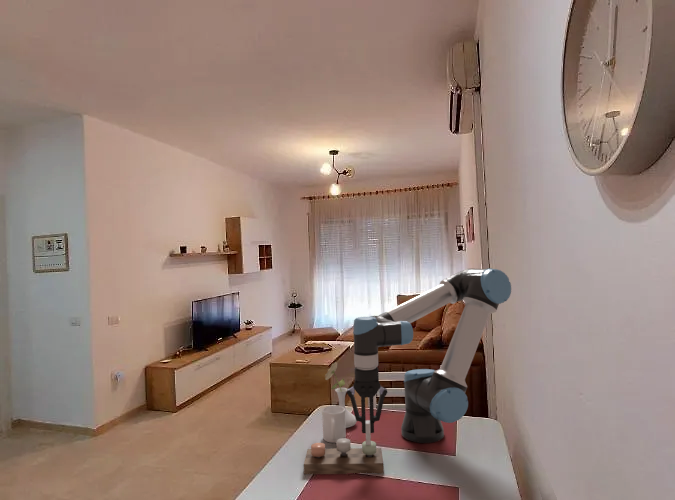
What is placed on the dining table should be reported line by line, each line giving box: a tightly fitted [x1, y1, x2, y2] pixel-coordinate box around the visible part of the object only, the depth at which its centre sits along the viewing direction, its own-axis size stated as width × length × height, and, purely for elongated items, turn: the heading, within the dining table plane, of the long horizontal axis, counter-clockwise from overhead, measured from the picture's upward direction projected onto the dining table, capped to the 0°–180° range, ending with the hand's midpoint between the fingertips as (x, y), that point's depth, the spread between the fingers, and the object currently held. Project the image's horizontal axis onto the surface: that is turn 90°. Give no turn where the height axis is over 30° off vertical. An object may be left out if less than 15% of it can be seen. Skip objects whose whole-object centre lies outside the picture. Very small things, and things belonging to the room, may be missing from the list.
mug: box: [321, 405, 347, 444], centre depth 145 cm, size 12×8×10 cm
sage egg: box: [361, 440, 377, 457], centre depth 127 cm, size 4×4×4 cm
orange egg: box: [310, 442, 326, 458], centre depth 128 cm, size 4×4×4 cm
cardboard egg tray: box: [303, 447, 385, 475], centre depth 127 cm, size 24×10×3 cm, turn 88°
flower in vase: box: [324, 361, 358, 429], centre depth 158 cm, size 13×11×25 cm
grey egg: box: [335, 437, 352, 456], centre depth 127 cm, size 4×4×4 cm
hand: (368, 443), depth 127 cm, fingers closed
